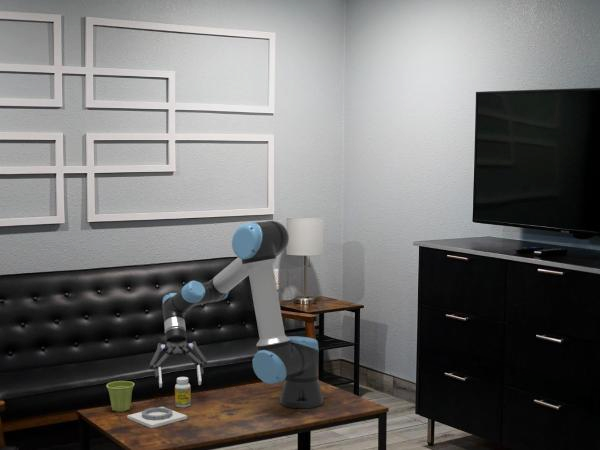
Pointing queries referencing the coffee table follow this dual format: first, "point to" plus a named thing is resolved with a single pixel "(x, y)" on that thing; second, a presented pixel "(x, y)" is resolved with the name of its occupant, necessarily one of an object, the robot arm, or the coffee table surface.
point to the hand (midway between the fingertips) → (180, 384)
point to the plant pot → (120, 395)
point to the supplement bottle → (182, 392)
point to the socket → (157, 417)
